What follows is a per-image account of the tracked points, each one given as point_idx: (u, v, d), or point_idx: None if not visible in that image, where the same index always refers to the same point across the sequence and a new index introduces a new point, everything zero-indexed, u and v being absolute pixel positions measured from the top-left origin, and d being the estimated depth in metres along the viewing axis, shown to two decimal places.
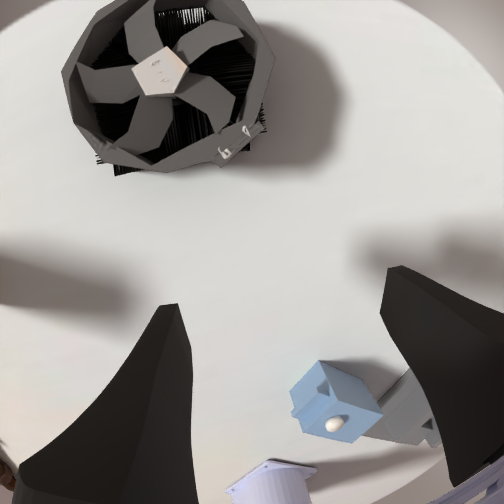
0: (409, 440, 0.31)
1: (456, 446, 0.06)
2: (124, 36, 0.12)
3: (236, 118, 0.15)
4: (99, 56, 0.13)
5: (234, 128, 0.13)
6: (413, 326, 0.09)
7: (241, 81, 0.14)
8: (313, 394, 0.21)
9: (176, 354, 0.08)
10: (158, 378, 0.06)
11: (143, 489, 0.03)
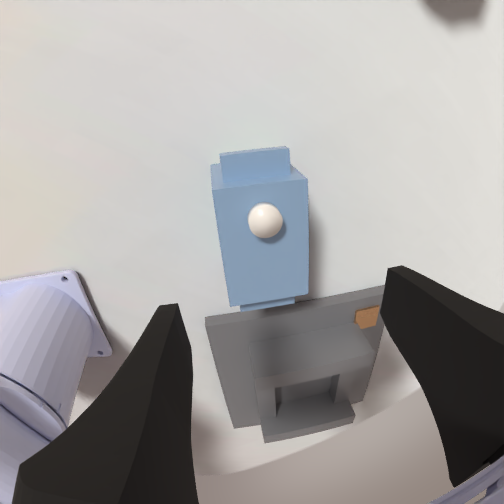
0: (236, 411, 0.26)
1: (457, 446, 0.06)
2: None
3: None
4: None
5: None
6: (413, 326, 0.09)
7: None
8: (278, 148, 0.13)
9: (176, 354, 0.08)
10: (158, 378, 0.06)
11: (143, 489, 0.03)
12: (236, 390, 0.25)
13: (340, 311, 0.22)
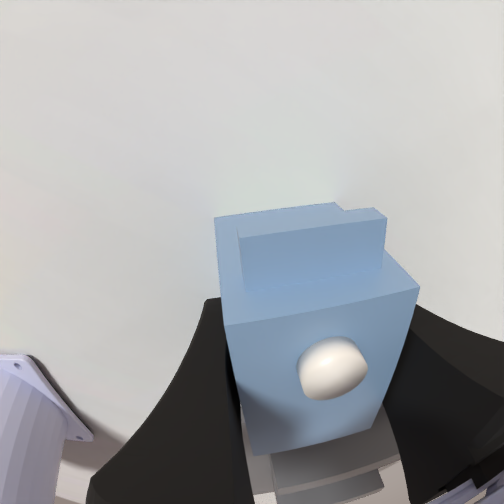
0: None
1: (414, 467, 0.06)
2: None
3: None
4: None
5: None
6: None
7: None
8: (363, 216, 0.06)
9: None
10: (226, 371, 0.06)
11: (238, 485, 0.04)
12: None
13: None
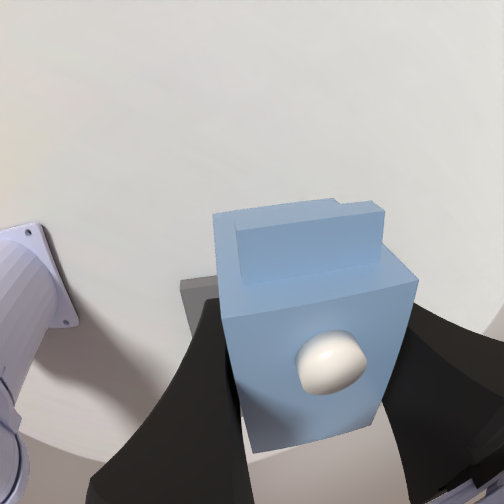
0: None
1: (414, 467, 0.06)
2: None
3: None
4: None
5: None
6: None
7: None
8: (361, 209, 0.06)
9: None
10: (226, 371, 0.06)
11: (238, 485, 0.04)
12: None
13: None
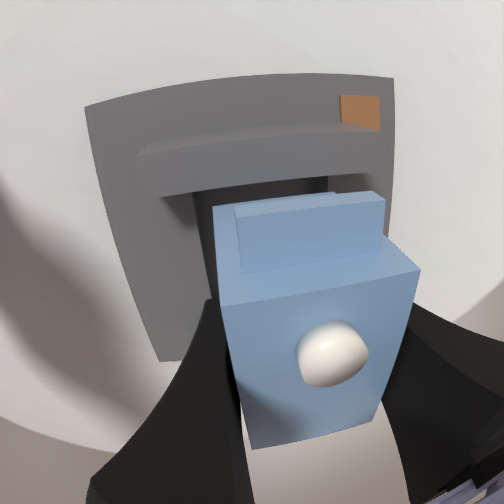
0: (154, 320, 0.16)
1: (414, 467, 0.06)
2: None
3: None
4: None
5: None
6: None
7: None
8: (362, 198, 0.06)
9: None
10: (226, 371, 0.06)
11: (238, 485, 0.04)
12: (144, 264, 0.15)
13: (311, 90, 0.12)
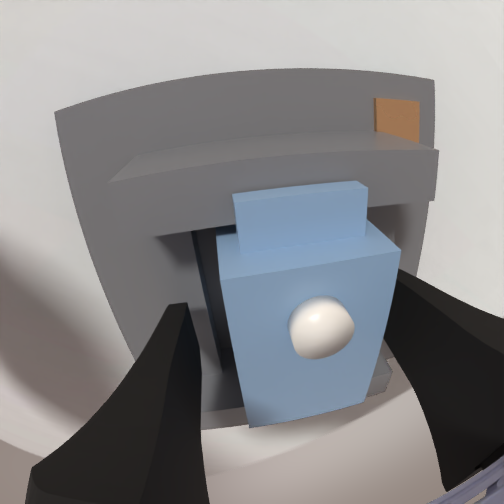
0: None
1: (449, 450, 0.06)
2: None
3: None
4: None
5: None
6: (405, 328, 0.09)
7: None
8: (346, 186, 0.07)
9: (187, 353, 0.08)
10: (171, 377, 0.06)
11: (161, 490, 0.04)
12: (134, 302, 0.12)
13: (341, 91, 0.09)
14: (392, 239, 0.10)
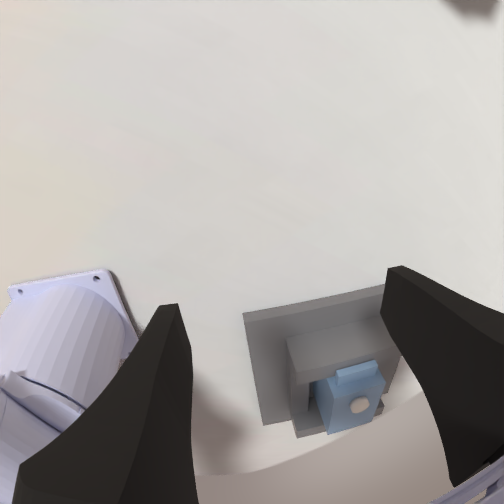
0: (267, 408, 0.26)
1: (457, 446, 0.06)
2: None
3: None
4: None
5: None
6: (413, 326, 0.09)
7: None
8: (371, 365, 0.19)
9: (176, 354, 0.08)
10: (158, 378, 0.06)
11: (143, 489, 0.03)
12: (269, 386, 0.25)
13: (373, 303, 0.22)
14: None
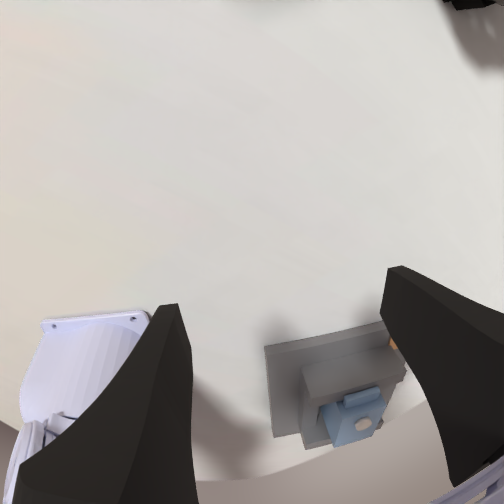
0: (279, 423, 0.29)
1: (456, 446, 0.06)
2: None
3: None
4: None
5: None
6: (413, 326, 0.09)
7: None
8: (374, 390, 0.22)
9: (176, 354, 0.08)
10: (158, 378, 0.06)
11: (143, 489, 0.03)
12: (283, 405, 0.27)
13: (378, 336, 0.24)
14: None
